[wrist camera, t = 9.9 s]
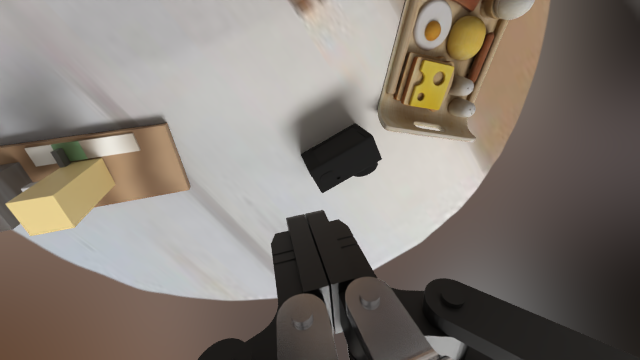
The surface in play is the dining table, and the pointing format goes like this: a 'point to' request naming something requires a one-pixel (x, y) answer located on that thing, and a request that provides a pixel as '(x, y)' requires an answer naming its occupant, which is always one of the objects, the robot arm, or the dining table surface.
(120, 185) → the base
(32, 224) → the block
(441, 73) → the toy food set
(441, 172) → the dining table surface
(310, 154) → the digital camera
